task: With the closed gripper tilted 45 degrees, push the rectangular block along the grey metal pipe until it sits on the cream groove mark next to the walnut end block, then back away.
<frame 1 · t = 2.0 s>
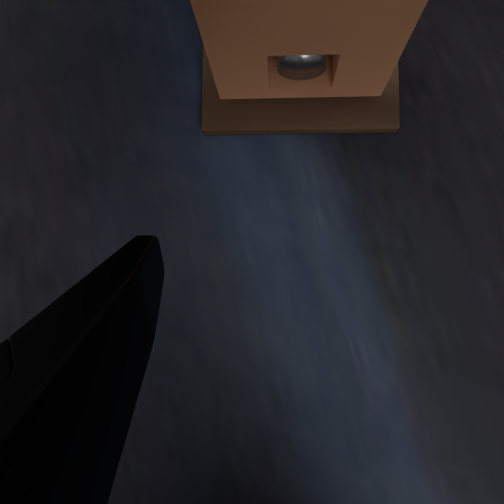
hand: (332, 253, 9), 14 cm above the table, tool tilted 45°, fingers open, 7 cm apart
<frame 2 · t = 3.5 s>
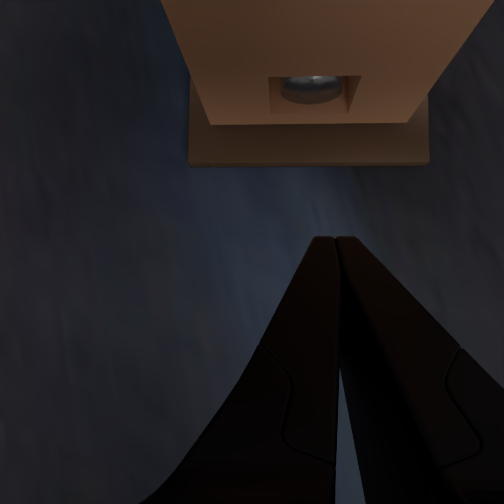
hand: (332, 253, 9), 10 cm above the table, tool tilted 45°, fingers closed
pipe stand: (306, 2, 20), on the table
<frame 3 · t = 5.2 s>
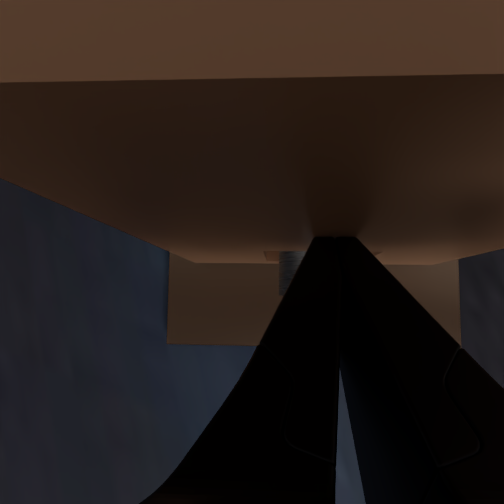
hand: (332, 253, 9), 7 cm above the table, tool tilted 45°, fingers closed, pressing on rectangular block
pipe: (317, 112, 13), point 4 cm above the table
pipe stand: (309, 140, 17), on the table
rectangular block: (333, 115, 9), point 8 cm above the table, slide at 1.3 cm, touching gripper
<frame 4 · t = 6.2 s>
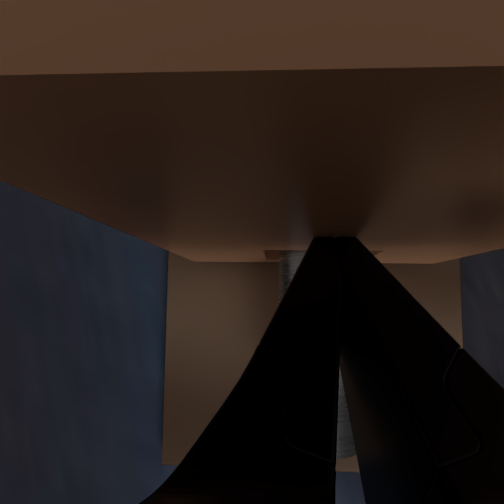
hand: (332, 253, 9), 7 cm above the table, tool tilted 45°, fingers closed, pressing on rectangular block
pipe: (318, 246, 13), point 4 cm above the table
pipe stand: (310, 246, 16), on the table
rectangular block: (334, 112, 9), point 8 cm above the table, slide at 5.3 cm, touching gripper
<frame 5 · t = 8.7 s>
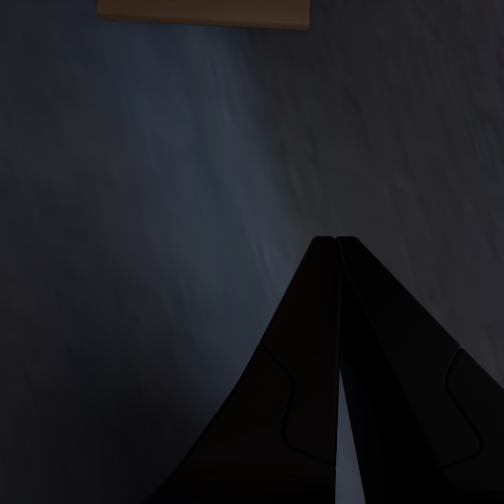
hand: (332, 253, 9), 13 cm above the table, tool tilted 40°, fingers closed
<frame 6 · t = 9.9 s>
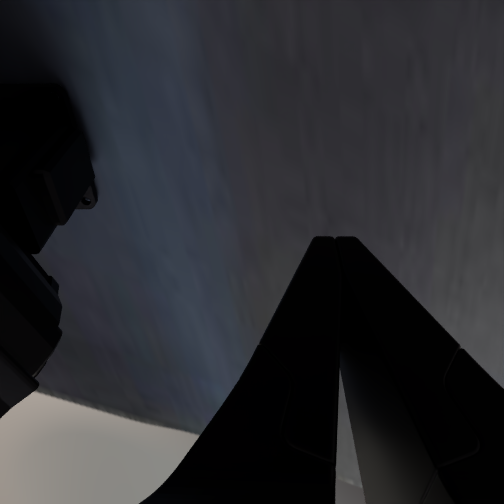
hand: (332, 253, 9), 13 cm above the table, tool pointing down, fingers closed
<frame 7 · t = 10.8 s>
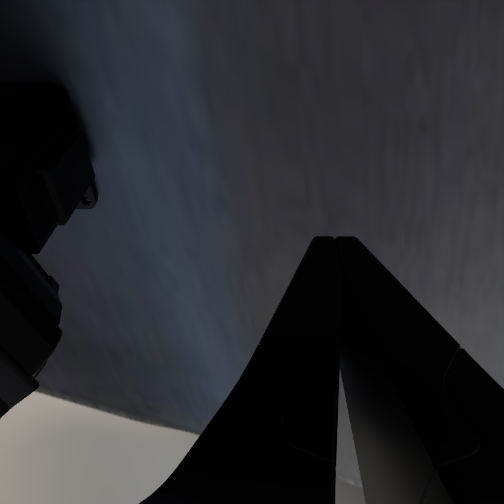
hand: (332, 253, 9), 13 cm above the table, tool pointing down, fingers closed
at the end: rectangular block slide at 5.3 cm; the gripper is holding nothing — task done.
